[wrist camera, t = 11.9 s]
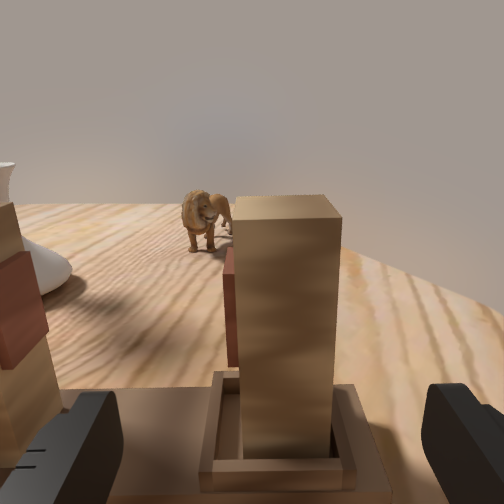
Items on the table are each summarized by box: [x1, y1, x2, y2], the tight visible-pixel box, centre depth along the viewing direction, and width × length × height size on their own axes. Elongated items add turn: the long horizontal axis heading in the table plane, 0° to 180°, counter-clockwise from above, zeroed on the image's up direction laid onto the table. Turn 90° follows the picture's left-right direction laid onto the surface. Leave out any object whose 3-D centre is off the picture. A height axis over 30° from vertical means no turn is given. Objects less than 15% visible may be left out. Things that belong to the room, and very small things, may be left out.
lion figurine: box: [182, 190, 233, 253], centre depth 55 cm, size 15×5×9 cm, turn 172°
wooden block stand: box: [0, 202, 393, 504], centre depth 19 cm, size 22×7×14 cm, turn 90°
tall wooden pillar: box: [223, 195, 342, 460], centre depth 18 cm, size 4×4×12 cm
